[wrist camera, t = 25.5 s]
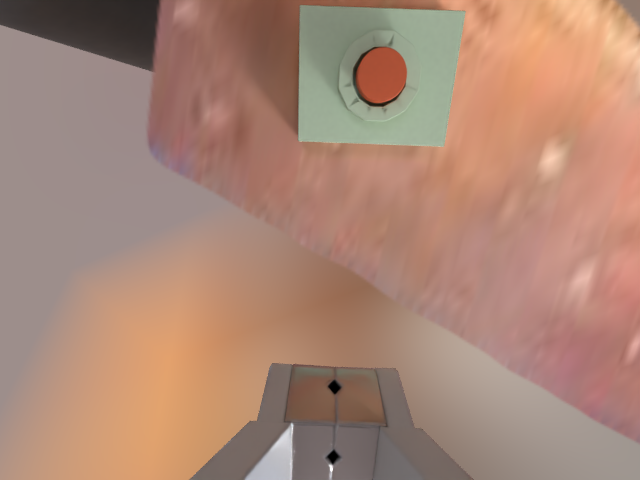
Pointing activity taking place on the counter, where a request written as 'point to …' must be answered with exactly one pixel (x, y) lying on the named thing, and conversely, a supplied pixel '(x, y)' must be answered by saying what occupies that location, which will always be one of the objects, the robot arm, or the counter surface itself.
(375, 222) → the counter surface
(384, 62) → the release button
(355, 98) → the button base
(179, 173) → the counter surface
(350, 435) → the robot arm
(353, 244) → the counter surface
